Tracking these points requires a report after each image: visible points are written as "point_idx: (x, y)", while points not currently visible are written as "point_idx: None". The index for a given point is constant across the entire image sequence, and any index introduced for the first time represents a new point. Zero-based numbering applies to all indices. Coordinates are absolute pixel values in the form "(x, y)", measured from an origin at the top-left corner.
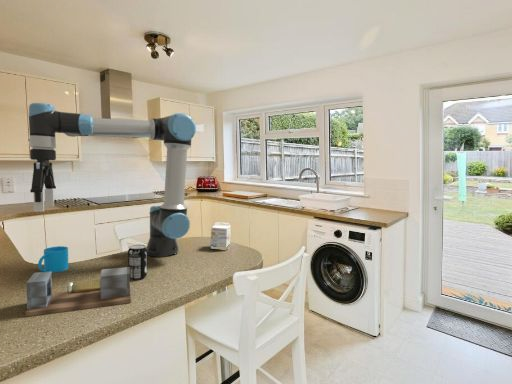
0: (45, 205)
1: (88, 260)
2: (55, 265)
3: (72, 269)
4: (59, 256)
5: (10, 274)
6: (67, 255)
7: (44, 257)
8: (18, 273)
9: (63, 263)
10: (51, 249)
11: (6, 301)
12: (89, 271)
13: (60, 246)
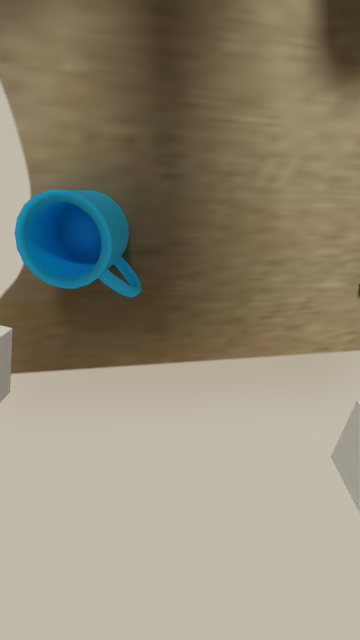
0: (6, 391)
1: (11, 102)
2: (123, 237)
3: (119, 176)
4: (113, 226)
5: (95, 355)
6: (86, 193)
7: (123, 281)
8: (94, 336)
9: (114, 209)
10: (36, 258)
11: (326, 349)
12: (174, 113)
13: (18, 222)
